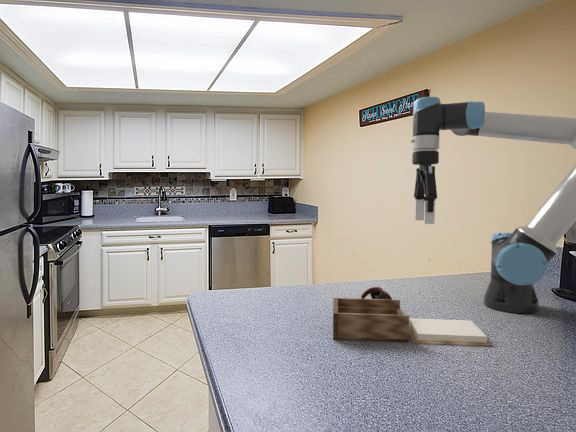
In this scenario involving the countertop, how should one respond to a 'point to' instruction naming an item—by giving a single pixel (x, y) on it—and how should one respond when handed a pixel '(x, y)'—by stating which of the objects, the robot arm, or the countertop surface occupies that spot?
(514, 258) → the robot arm
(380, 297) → the pottery mug
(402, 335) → the walnut box
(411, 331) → the cork mat
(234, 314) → the countertop surface
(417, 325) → the cover plate
